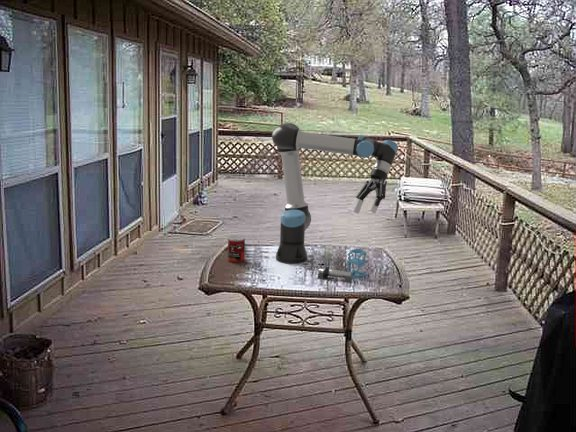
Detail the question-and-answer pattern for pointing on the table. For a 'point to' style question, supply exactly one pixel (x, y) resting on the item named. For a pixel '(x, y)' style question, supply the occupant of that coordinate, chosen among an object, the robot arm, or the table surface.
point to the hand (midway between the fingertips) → (364, 212)
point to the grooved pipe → (334, 274)
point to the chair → (357, 263)
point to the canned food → (236, 249)
